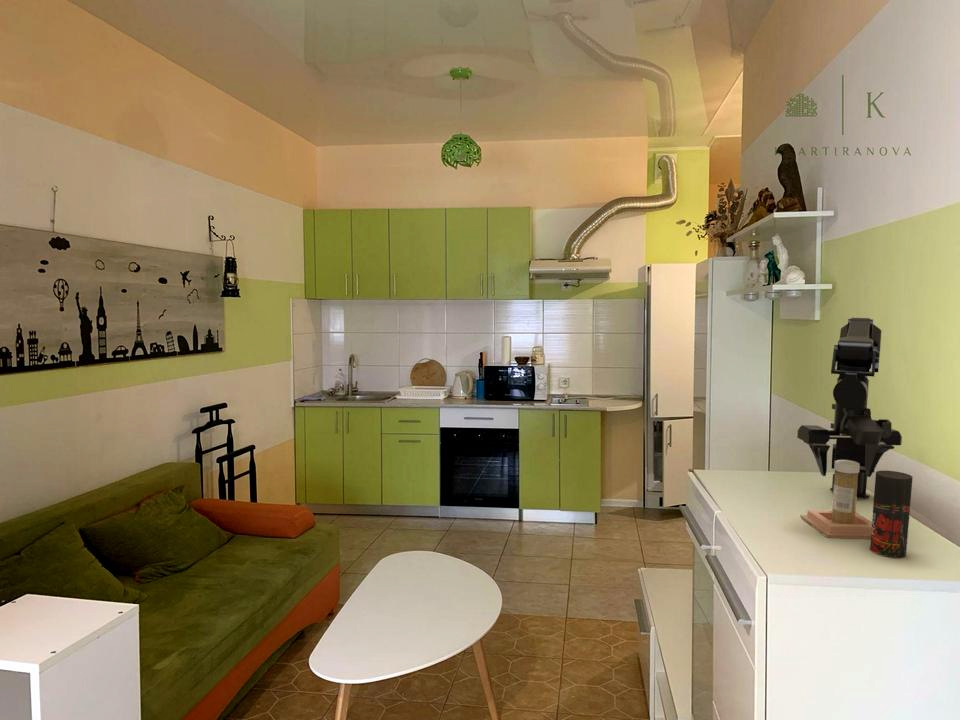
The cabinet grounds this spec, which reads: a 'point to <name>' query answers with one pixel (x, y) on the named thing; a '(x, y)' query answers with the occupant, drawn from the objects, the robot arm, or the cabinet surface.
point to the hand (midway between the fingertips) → (845, 476)
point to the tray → (838, 525)
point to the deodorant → (891, 514)
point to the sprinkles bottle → (845, 492)
